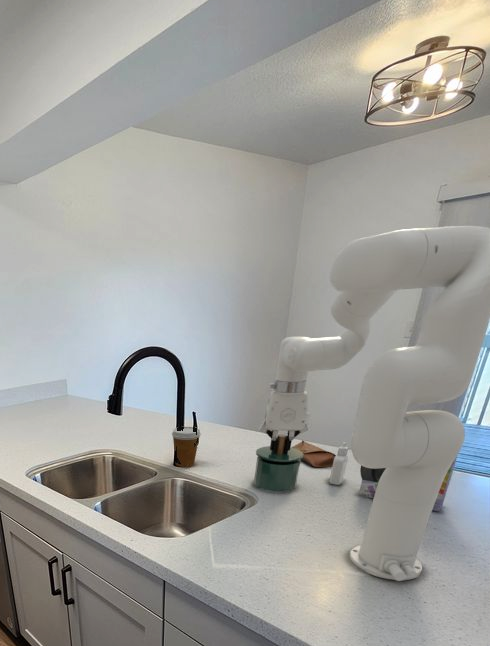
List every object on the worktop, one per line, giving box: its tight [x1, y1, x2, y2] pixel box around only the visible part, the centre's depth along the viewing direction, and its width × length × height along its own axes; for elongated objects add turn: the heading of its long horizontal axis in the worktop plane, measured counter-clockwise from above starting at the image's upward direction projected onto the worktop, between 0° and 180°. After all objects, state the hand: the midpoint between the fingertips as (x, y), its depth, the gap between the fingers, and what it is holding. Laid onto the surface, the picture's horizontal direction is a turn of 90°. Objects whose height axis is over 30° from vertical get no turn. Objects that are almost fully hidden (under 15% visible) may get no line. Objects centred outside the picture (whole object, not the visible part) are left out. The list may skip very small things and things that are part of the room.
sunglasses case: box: [291, 439, 337, 468], centre depth 148 cm, size 18×7×7 cm, turn 12°
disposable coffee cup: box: [171, 426, 202, 468], centre depth 147 cm, size 10×10×12 cm
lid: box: [255, 433, 303, 462], centre depth 124 cm, size 13×13×6 cm
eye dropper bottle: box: [328, 442, 349, 486], centre depth 127 cm, size 4×6×12 cm
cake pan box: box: [358, 454, 459, 512], centre depth 112 cm, size 19×5×18 cm, turn 45°
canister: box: [253, 456, 302, 493], centre depth 128 cm, size 11×11×8 cm
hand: (279, 452), depth 125 cm, fingers closed on lid, 2 cm apart
